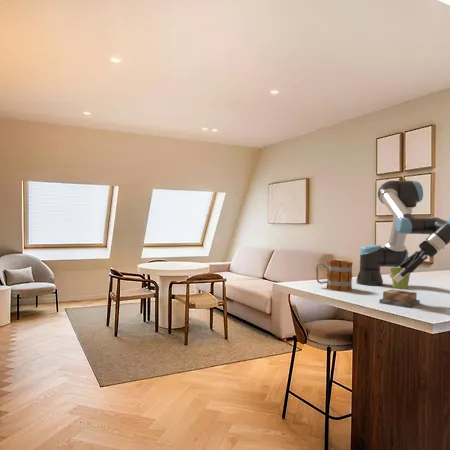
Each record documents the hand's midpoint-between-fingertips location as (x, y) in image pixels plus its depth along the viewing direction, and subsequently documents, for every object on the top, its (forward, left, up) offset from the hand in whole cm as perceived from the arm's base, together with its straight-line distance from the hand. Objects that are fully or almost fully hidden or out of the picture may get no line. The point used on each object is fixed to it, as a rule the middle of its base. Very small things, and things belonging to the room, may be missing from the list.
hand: (393, 278), depth 178 cm
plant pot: (+3, +2, -4) cm, 5 cm away
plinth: (+3, +2, -11) cm, 11 cm away
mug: (-37, +15, -11) cm, 42 cm away
